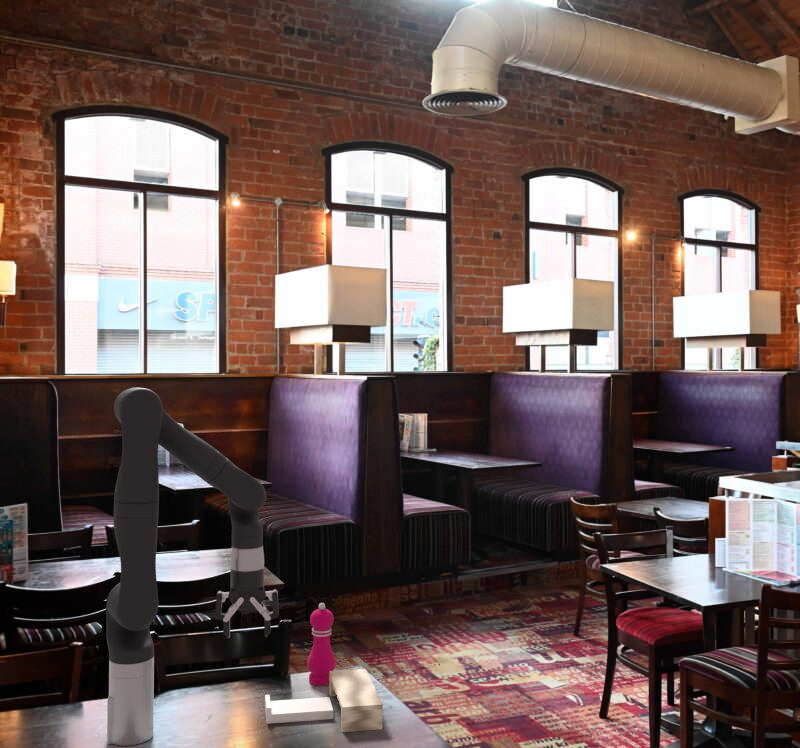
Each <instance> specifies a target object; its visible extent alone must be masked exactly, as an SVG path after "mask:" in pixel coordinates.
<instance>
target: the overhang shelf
mask: <svg viewBox="0 0 800 748" xmlns="http://www.w3.org/2000/svg"><path fill="white" fill-rule="evenodd" d="M328 688H329V689H328V690H329V692H328V693H329V697H336V698H337V702H338V701H339V702H338V704H339V706H340V707H339V708H340V729H341V732H342V733H350V732H361V731H362V732H363V731H376V730H383V716H384V715H383V711H384V710H383V705H384V704H383V703H382V700H381V699H380V696H379V693H378V692H377V689H376V688H375V685H374V683H373V681H372V679H371V677H370V675H369V673H368V671H367V669H366V668H361V669H360V668H357V669H341V670H333V671H330V672H329V687H328ZM336 695H337V696H336Z"/></svg>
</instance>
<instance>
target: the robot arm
mask: <svg viewBox="0 0 800 748" xmlns="http://www.w3.org/2000/svg"><path fill="white" fill-rule="evenodd" d="M113 411H114V416H115V417H116V419H117V420H118V422H119V423H120V424H121V425H120V426H121V434H122V436H121V439H122V455H121V461H120V466H119V469H118V473H117V479H116V482H115V487H114V488H115V489H114V497H113V528H114V534H115V535H114V536H115V540H116V545H117V550H118V555H119V561H120V579H119V582H118V583H117V584H115V586H114V587H113V588H111V590H110V592H109V593H108V596H107V598H106V607H105V609H106V610H105V619H106V620H105V621H106V622H105V626H106V642H107V643H106V644H107V648H108V654H109V655H108V659H109V660H108V662H109V663H108V664H109V666H108V669H109V670H108V698H107V700H106V701H107V704H106V707H107V711H106V712H107V714H106V717H107V718H106V719H107V721H106V722H107V723H106V729H107V731H106V743H107V745H111V744H112V745H116V746H135V745H140V744H143V743H146V742H147V741H149V740H151V739H152V738H153V737H154V729H155V728H154V727H155V726H154V709H155V708H154V706H155V705H154V704H155V698H154V696H155V693H154V688H155V683H154V682H155V681H154V680H155V676H154V675H155V643H154V641H153V639H152V638H153V637H152V634H151V630H150V625H151V624H152V623H153V622H154V621H155V619H156V617H157V614H158V611H159V593H158V582H157V581H158V580H157V567H156V566H157V562H156V561H157V546H158V530H159V529H158V527H159V525H158V524H159V512H160V511H159V510H160V509H159V508H160V507H159V506H160V505H159V504H160V488H159V487H160V481H159V477H160V475H159V459H158V458H159V457H158V456H159V446H160V447H161V448H163V449H164V450H166V451H167V452H168V453H170V454H171V455H172V456H173V457H175V459H177V460H178V461H179V462H180V463H182V464H183V465H184V466H185V467H186V468H188V469H189V470H190V471H191V472H192V473H193V474H195V475H196V476H197V477H199V478H200V479H201V480H203V481H204V482H205V483H207V484H208V485H209V486H211V487H212V488H214V489H216V490H219V491H220V492H221V493H223V494H224V495H225V497H227V498H228V499H227V501H228V508H229V515H230V521H231V551H230V591H226V592H224V591H222V590H218V591H217V593H216V596H215V597H216V598H215V599H216V600H215V613H214V618H215V620H217V621H218V620H219V621H222V623H223V626H222V627H223V630H222V632H223V633H222V634H223V636H225V637H226V639H230V637H231V618H232V616H234V614H235V613H236V611H239V612H245V611H249V612H254V611H256V610H257V611H258V612H259V614H260V615H262V617H263V618H264V622H263V623H264V624H263V625H264V629H263V630H264V631H263V632H264V633H263V635H264V637H265V638H268V635H270V634H271V631H272V630H271V627H272V623H271V621H272V620H273V619H277V618H279V614H280V608H279V595H278V594H279V593H278V590H277V589H276V588H275V589H273V590H268V591H267V590H266V589H265V553H264V545H263V544H264V529H263V524H262V522H261V520H260V518H259V510H260V509H261V508H262V507H264V505H265V504H266V501H267V491H266V488H265V487H264V485H263V484H262V483H261V482H259V480H258V479H256V478H254V477H253V476H251V475H250V474H249V473H247V472H246V471H244V470H242V469H241V468H239V467H238V466H236V465H235V464H234V463H233V462H232V461H231V460H230V459H229V458H228V457H226V456H225V455H224V454H223V453H221V452H220V451H218V450H217V449H216V448H215V447H214V446H212V445H210V443H208V442H206V441H205V440H204V439H202V438H201V437H199V436H197V435H196V434H194V433H193V432H191V431H189V430H188V429H187V428H185V427H183V426H182V424H180V423H179V422H177V421H176V420H174V419H173V418H172V417H171V416H170V415H169V414H168V413H167V412H166V411H165V410H164V407H163V402H162V400H161V398H160V397H159V395H158V394H157V393H156V392H154V391H153V390H151V389H149V388H147V387H146V388H144V387H137V386H136V387H130V388H127V389H125V390H123V391H121V392H120V394H118V396H116V399H115V401H114V405H113ZM266 597H267V598H268V600H269V601H271V602H272V611H269V610H268V609H267V607H266V606H265V604H264V603H263V601H264V600H266ZM227 598H228V599H229V601H230V602H231V603H232V604H231V606H230V607H229V608H228V610H227V612H225V613H224V612H222V609H223V603H225V602H226V599H227Z"/></svg>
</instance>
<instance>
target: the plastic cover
mask: <svg viewBox="0 0 800 748" xmlns="http://www.w3.org/2000/svg"><path fill="white" fill-rule="evenodd" d="M264 714H265V720H266V724H269V725H270V724H282V723H297V722H309V721H310V722H311V721H321V720H322V721H324V720H333V719H334V709H333V706H332V702H331V699H330V696H327V697H326V696H325V697H311V698H310V697H309V698H295V699H282V700H281V699H279V700H271V696H270V694H265V695H264Z"/></svg>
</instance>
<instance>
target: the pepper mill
mask: <svg viewBox="0 0 800 748" xmlns="http://www.w3.org/2000/svg"><path fill="white" fill-rule="evenodd" d="M334 620H335V619H334V615H333V612H332V611H331V610H329V609H327V608H326V604H325V603H324V602H320V603H319V604H318V608H317V609H314V610H313V611H312V613H310V618H309V622H310V625H311V626H312V628H311V631H312V632H311V635H313V642H312V643H313V645H312V648H311V651H310V653H309V655H308V658H307V662H306V663H307V665H306V667H307V669H308V671H309V672H310V673H309V674H308V683H310V684H311V685H313V686H318V687H319V686H322V685H324V686H328V684H329V672H330V671H335V669H336V665H337V664H336V656H335V655H334V652H333V649H332V647H331V646H332V645H331V640H330V639H331V635H332V627H333V626H332V625H333V624H334V622H335V621H334Z"/></svg>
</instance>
